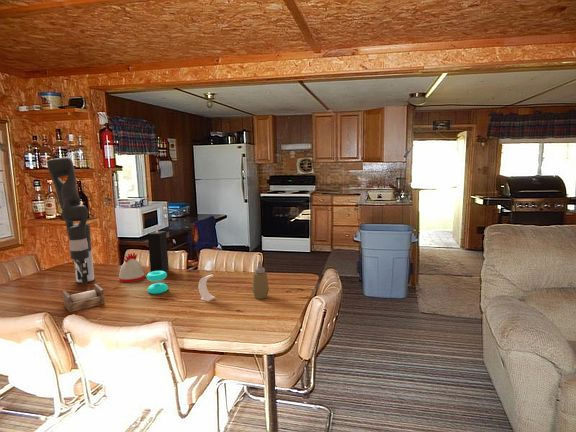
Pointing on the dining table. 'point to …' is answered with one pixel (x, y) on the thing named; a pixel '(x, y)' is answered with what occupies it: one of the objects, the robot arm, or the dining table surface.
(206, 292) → the white curved piece
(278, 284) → the dining table surface
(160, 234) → the black rectangular block
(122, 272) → the beanie hat
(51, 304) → the dining table surface
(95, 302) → the roll cradle
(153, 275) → the teal stacked discs
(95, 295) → the paper roll
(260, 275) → the squeeze bottle
